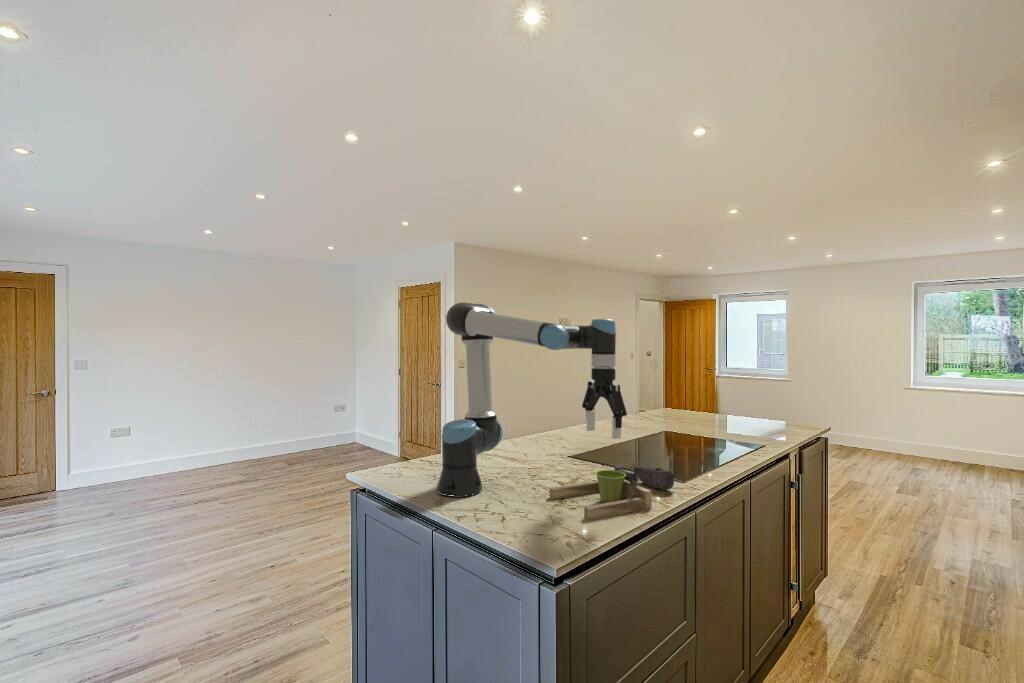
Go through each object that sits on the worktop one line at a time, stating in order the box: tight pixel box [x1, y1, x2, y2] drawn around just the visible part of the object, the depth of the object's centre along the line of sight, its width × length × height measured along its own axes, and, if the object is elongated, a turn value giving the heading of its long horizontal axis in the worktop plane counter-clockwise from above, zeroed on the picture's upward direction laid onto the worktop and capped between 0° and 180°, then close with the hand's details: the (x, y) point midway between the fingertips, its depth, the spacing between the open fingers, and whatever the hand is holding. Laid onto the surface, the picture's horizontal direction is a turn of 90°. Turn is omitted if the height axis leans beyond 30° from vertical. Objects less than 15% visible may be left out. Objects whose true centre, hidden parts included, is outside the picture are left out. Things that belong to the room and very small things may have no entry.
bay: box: [549, 465, 653, 520], centre depth 153 cm, size 22×23×11 cm
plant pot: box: [595, 469, 626, 504], centre depth 154 cm, size 9×9×9 cm
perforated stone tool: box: [638, 466, 675, 491], centre depth 169 cm, size 15×5×7 cm, turn 27°
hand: (603, 434), depth 155 cm, fingers open, 13 cm apart
